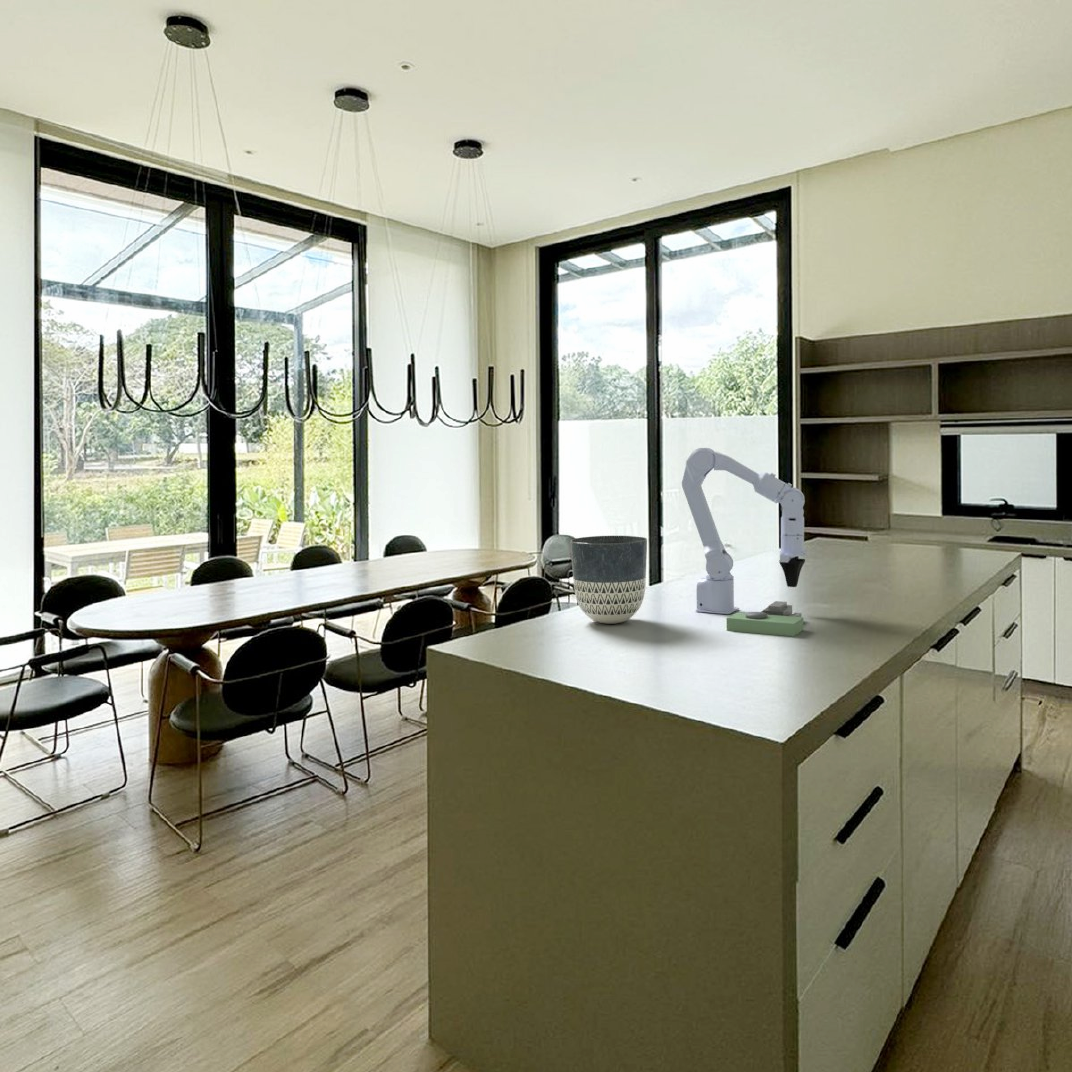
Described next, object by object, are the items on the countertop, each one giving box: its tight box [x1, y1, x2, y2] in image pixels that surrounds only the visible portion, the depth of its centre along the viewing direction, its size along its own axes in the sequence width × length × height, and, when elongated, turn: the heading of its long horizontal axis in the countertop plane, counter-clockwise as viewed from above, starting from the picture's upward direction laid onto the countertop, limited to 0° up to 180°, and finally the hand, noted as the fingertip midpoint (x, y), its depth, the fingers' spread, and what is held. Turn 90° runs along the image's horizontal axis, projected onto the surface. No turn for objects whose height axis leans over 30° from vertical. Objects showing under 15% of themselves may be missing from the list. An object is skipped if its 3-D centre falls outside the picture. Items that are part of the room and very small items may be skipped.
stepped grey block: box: [762, 600, 793, 616], centre depth 205 cm, size 5×9×5 cm, turn 150°
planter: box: [569, 535, 648, 625], centre depth 212 cm, size 20×20×21 cm
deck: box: [726, 610, 804, 637], centre depth 202 cm, size 16×18×4 cm
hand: (792, 586), depth 216 cm, fingers closed
